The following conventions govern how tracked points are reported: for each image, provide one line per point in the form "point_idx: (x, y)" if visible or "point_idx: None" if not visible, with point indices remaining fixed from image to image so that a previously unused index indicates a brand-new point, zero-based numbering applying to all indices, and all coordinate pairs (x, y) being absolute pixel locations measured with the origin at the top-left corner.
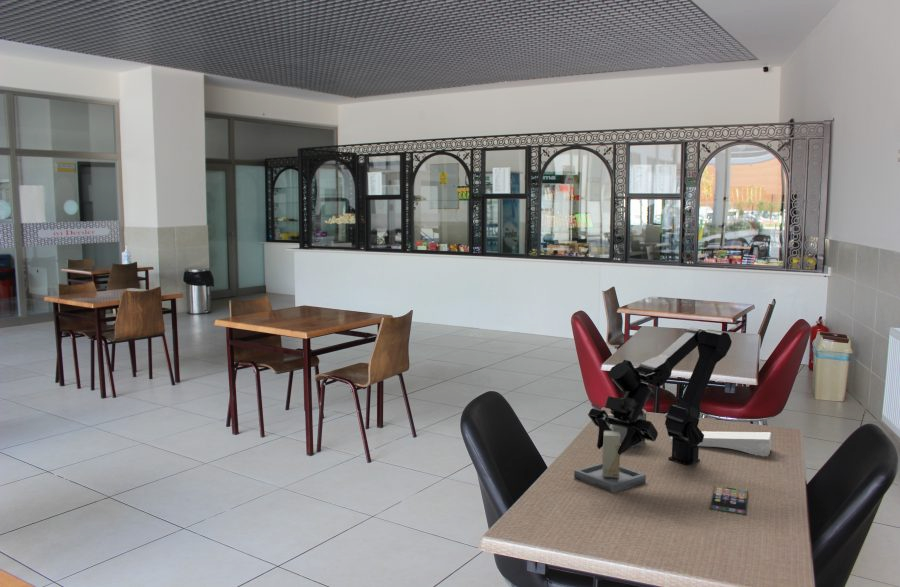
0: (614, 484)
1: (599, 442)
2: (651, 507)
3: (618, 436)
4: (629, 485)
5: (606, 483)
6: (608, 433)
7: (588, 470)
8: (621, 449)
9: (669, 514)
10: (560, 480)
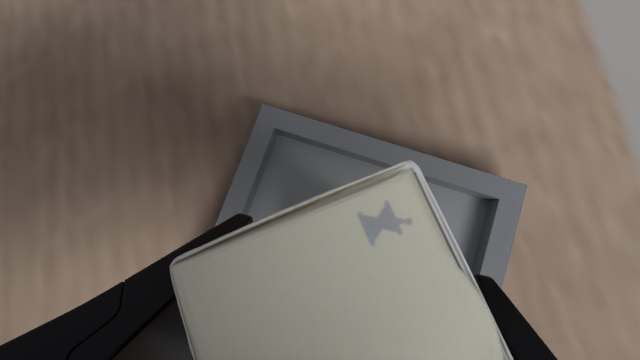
0: (260, 114)
1: (492, 304)
2: (92, 67)
3: (198, 253)
4: None
5: (303, 117)
6: (398, 305)
7: (474, 271)
8: (209, 232)
9: (21, 45)
10: (539, 117)
